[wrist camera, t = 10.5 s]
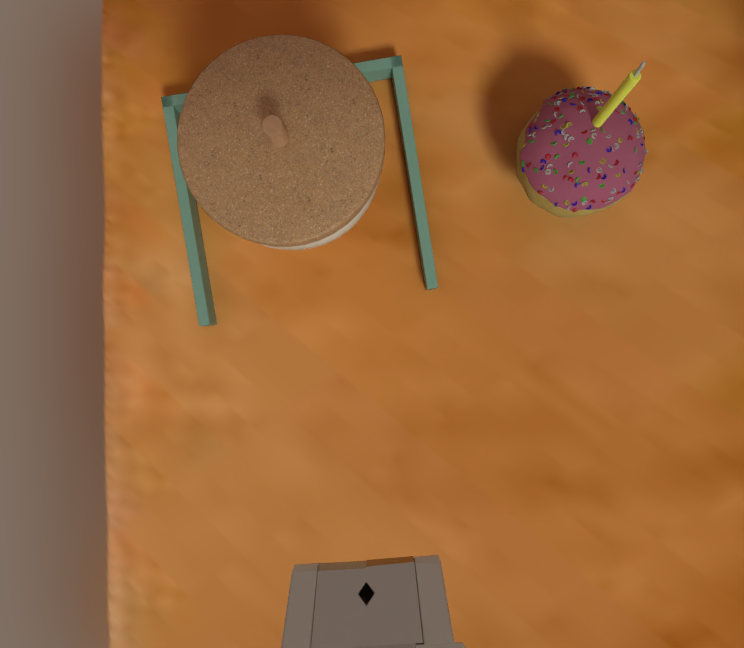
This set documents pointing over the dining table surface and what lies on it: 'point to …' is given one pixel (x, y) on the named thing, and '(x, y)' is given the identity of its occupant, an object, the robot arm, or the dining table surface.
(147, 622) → the dining table surface
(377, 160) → the lidded bowl
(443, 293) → the dining table surface
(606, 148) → the cupcake
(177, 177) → the teal u-shaped frame
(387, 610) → the robot arm
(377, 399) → the dining table surface
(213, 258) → the dining table surface
